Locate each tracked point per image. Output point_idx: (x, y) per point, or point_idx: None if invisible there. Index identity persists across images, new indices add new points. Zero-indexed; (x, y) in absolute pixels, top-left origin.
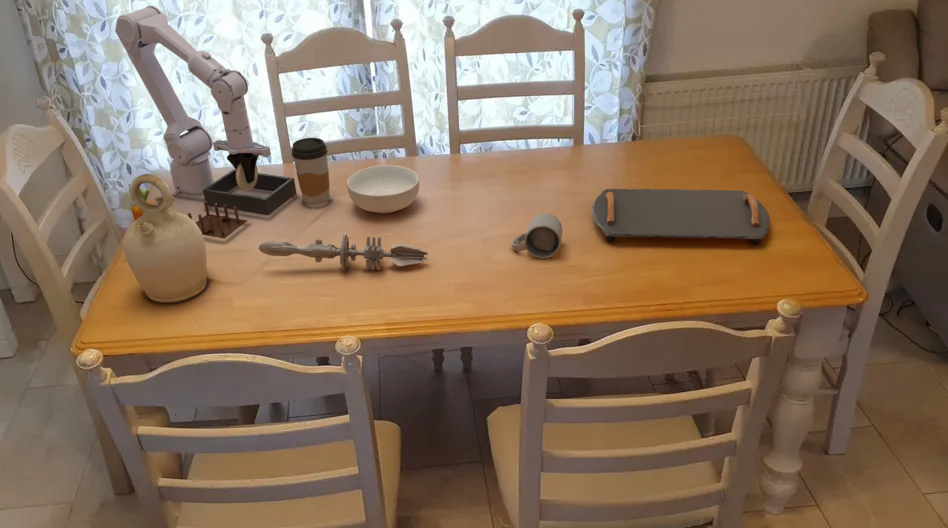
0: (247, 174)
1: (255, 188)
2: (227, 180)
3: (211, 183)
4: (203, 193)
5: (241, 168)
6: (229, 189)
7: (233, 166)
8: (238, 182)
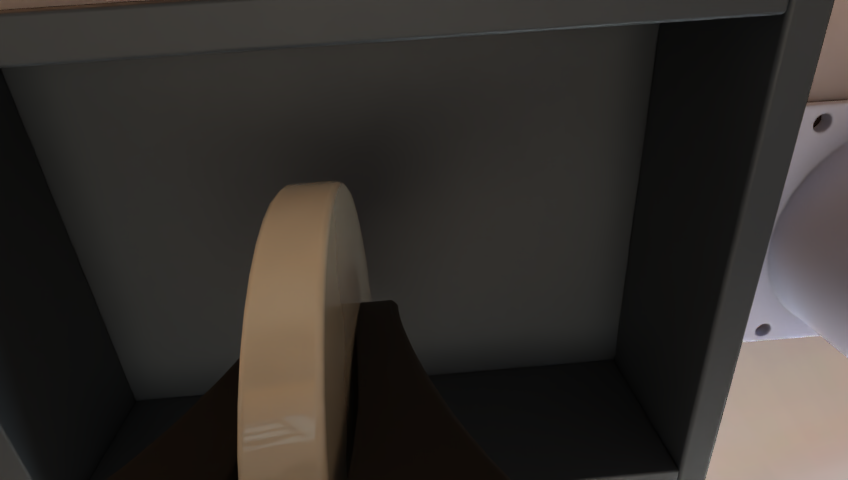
0: (221, 384)
1: (455, 383)
2: (676, 344)
3: (824, 282)
4: (839, 167)
5: (249, 441)
6: (636, 294)
7: (473, 445)
8: (298, 194)
